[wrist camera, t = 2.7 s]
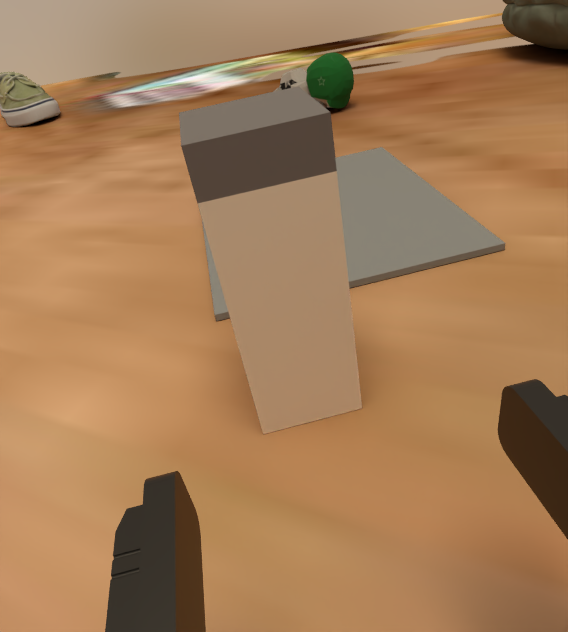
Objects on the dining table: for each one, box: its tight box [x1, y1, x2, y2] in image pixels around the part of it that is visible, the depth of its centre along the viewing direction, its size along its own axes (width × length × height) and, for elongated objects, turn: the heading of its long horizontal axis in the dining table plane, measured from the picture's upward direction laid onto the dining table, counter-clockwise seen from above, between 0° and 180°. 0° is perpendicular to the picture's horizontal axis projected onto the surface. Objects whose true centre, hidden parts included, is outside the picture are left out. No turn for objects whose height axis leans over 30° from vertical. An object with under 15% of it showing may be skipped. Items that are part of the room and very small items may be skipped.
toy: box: [274, 53, 354, 108], centre depth 72 cm, size 9×7×15 cm
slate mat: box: [202, 147, 505, 321], centre depth 43 cm, size 20×24×1 cm
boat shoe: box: [0, 72, 60, 127], centre depth 106 cm, size 10×29×9 cm, turn 40°
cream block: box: [179, 86, 362, 434], centre depth 22 cm, size 5×5×14 cm
